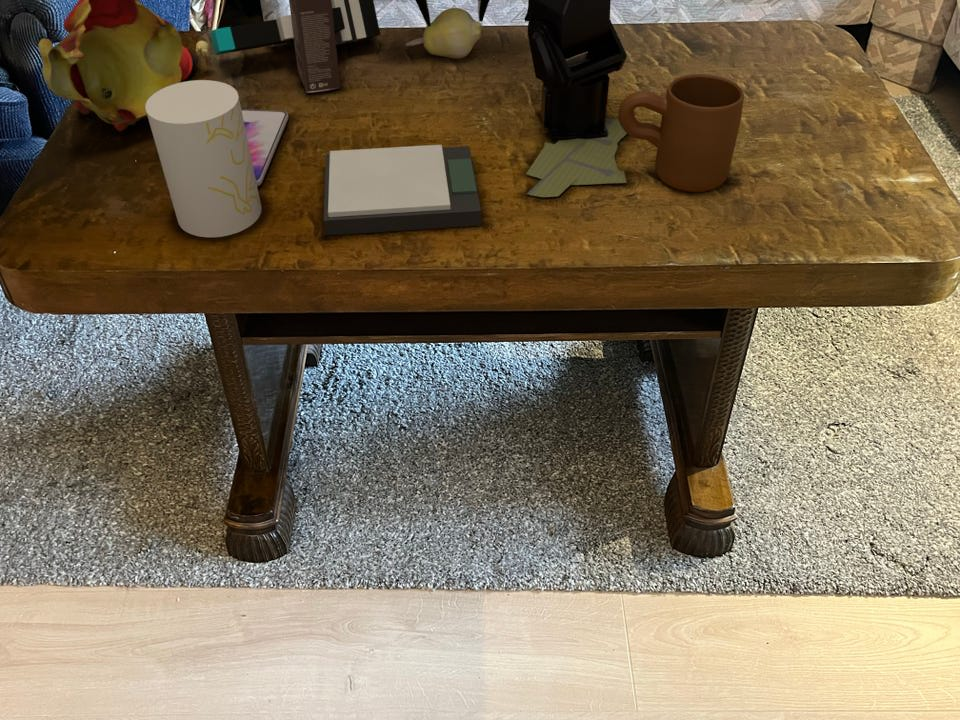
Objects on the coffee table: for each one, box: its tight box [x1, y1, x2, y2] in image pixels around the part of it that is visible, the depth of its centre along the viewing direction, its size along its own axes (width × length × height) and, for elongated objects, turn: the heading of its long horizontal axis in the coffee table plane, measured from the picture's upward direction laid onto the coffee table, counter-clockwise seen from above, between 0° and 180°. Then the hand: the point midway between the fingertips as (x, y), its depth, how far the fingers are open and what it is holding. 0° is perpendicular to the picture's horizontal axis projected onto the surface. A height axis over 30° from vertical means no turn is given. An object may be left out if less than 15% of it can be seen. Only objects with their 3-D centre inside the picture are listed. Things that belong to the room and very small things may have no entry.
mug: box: [617, 73, 745, 193], centre depth 89 cm, size 12×8×9 cm, turn 87°
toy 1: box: [37, 0, 184, 132], centre depth 96 cm, size 15×15×13 cm
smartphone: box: [241, 108, 289, 187], centre depth 96 cm, size 7×1×15 cm
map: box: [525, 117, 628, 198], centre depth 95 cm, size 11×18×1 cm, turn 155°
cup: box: [145, 79, 262, 238], centre depth 84 cm, size 8×8×12 cm
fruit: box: [405, 7, 483, 60], centre depth 112 cm, size 6×6×10 cm
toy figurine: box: [179, 40, 210, 82], centre depth 107 cm, size 8×4×8 cm
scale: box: [323, 144, 482, 236], centre depth 89 cm, size 15×12×2 cm
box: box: [288, 0, 341, 94], centre depth 104 cm, size 6×4×12 cm
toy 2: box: [209, 0, 381, 56], centre depth 111 cm, size 10×5×20 cm
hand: (454, 22), depth 111 cm, fingers closed on fruit, 6 cm apart
